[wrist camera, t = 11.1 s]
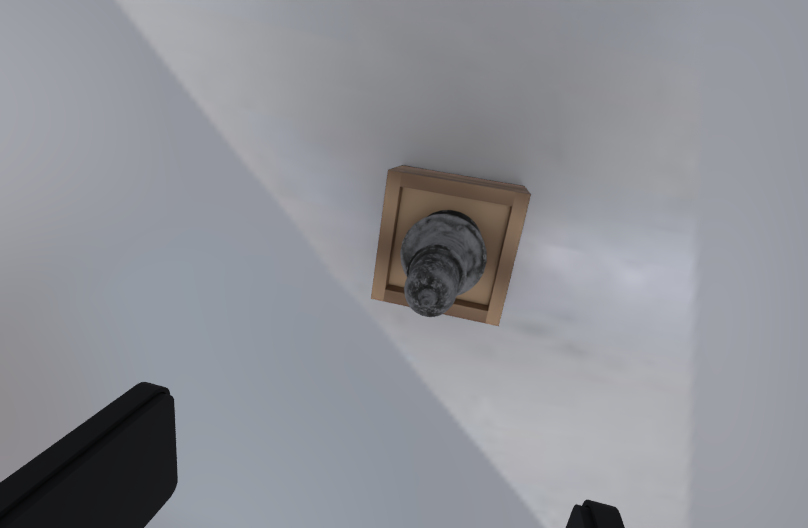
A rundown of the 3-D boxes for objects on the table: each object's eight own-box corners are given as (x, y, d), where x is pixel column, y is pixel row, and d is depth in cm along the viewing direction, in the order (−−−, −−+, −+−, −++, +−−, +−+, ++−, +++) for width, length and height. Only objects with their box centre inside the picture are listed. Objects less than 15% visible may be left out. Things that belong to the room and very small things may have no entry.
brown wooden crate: (402, 165, 34) (388, 169, 30) (524, 186, 33) (530, 194, 28) (386, 277, 38) (370, 298, 33) (496, 300, 36) (498, 326, 31)
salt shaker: (491, 209, 30) (494, 252, 19) (482, 285, 32) (479, 366, 21) (411, 202, 31) (368, 239, 20) (406, 276, 33) (364, 349, 22)
